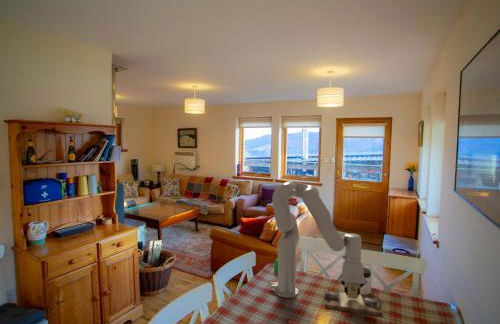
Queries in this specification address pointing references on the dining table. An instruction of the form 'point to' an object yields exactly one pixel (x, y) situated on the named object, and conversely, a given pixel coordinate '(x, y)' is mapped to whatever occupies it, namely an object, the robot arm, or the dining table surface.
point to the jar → (367, 288)
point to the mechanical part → (276, 265)
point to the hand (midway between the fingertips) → (352, 294)
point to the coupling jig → (352, 303)
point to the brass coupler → (352, 290)
